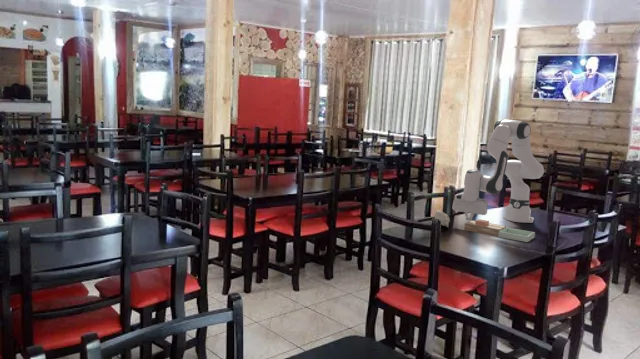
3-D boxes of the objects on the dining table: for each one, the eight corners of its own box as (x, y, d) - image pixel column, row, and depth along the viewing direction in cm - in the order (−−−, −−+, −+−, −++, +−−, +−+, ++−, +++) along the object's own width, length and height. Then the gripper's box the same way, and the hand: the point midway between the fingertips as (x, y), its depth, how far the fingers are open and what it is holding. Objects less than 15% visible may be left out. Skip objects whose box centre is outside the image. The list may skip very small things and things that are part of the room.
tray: (505, 232, 318) (506, 227, 318) (534, 237, 309) (535, 232, 309) (497, 236, 306) (498, 231, 306) (527, 242, 297) (527, 236, 296)
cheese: (437, 223, 310) (451, 205, 317) (427, 220, 316) (441, 202, 322) (444, 241, 319) (458, 223, 325) (434, 237, 324) (447, 220, 330)
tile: (478, 222, 322) (479, 219, 322) (488, 224, 319) (489, 220, 319) (475, 224, 318) (475, 220, 317) (485, 225, 314) (485, 222, 314)
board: (471, 226, 329) (472, 220, 328) (505, 232, 317) (506, 226, 317) (464, 230, 318) (464, 223, 318) (498, 236, 307) (499, 229, 306)
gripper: (490, 198, 318) (487, 222, 319) (456, 194, 329) (454, 216, 331) (486, 200, 312) (484, 223, 314) (452, 195, 324) (450, 218, 326)
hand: (468, 220), depth 323 cm, fingers closed
